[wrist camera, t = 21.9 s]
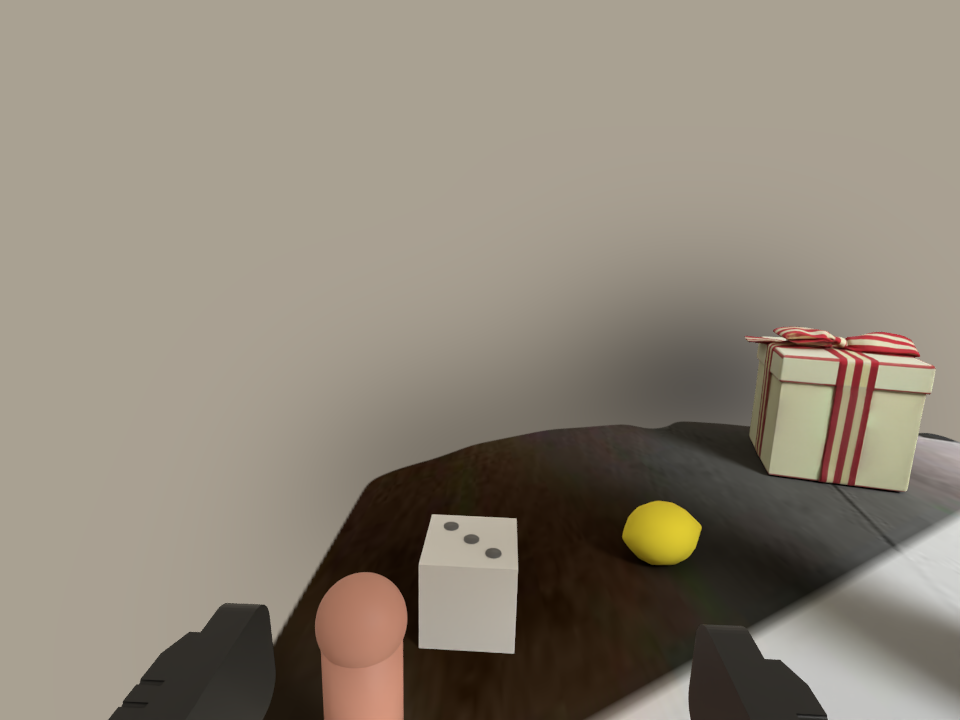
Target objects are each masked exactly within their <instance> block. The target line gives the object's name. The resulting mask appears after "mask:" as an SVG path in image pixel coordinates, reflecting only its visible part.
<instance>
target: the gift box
mask: <svg viewBox="0 0 960 720" xmlns="http://www.w3.org/2000/svg"><path fill="white" fill-rule="evenodd" d="M773 332H775V333H776V334H778V335H779V336H781V337H783V338H780V337H764V336H763V337H752V336H745V338H746V340H747V341H748V342H756V343H759V346H758V353H757V358H758V359H759V367H758V375H757V383H756V390H755V398H754V404H753V412H752V420H751V426H750V433H749V437H750V439H751V441H752V443H753V445H754V447H755V450H756V452H757V454H758V456H759V457H760V459H761V461H762V463H763V465H764V467H765V469H766V470H767V472H768V474H769V475H775V476H783V477H790V478H798V479H806V480H814V481H819V482H826V483H837V484H844V485H851V486H860V487H868V488H876V489H884V490H893V491H901V492H905V491H906V490H907V489H908V484H909V479H910V473H911V468H912V463H913V457H914V452H915V447H916V443H917V437H918V432H919V427H920V422H921V417H922V412H923V406H924V402H925V397H926V394H931V391H932V387H933V382H934V376H935V370H936V368H935V367H934V366H933V365H930V364H928V363H926V362H923V361H921V360H918V359H916V358H915V357H920V355H919V353H918V351H917V349H916V347H915V345H914V344H913V342H912V341H911V340H910V339H908V338H906V337H904V336H901V335H897V334H891V333H885V332H874V333H867V334H864V335H860V336H855V337H847V338H846V339H844V338H841V337H835V336H832V335H831V334H830V333H828V332H827V331H823V330H817V329H810V328H803V327H781V328H776V329H774V330H773Z"/></svg>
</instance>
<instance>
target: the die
mask: <svg viewBox="0 0 960 720" xmlns="http://www.w3.org/2000/svg"><path fill="white" fill-rule="evenodd" d="M517 583H518V549H517V518H497V517H476V516H455V515H434V514H432V517H431V520H430V524H429V528H428V532H427V535H426V539H425V543H424V547H423V550H422V554H421V558H420V562H419V648H428V649H445V650H462V651H479V652H495V653H512V654H514V649H515V627H516V605H517Z"/></svg>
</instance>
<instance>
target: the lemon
mask: <svg viewBox="0 0 960 720" xmlns="http://www.w3.org/2000/svg"><path fill="white" fill-rule="evenodd" d="M701 529H702V527H701V525H700V524H699V523H698V522H697V521H696V520H695V519H694V518H693V517H692V516H691V515H690V514H689V513H688V512H687V511H686V510H685V509H683V508H681V507H679V506H678V505H676V504H674V503H671V502H664V501H654V502H650V503H647V504H644V505H642V506H639V507H637V508H636V509H635V510H634V511H633V512H632V513H631V514H630V515H629V517H628V520H627V522H626V525H625V527H624V531H623V536H622V538H623V540H624V542H625V544H626V545H627V546H628V548H629V549H630V550H631V551H632V552H633V553H634V554H635V555H636V556H637V557H638V558H639V559H641V560H643V561H645V562H647V563H649V564H651V565H675V564H677V563H679V562H681V561H683V560H685V559H687V558H688V557H689V556H690V555H691V554H692V552H693V550H694V549H695V548H696V545H697V542H698V539H699V535H700V532H701Z"/></svg>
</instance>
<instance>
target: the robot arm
mask: <svg viewBox="0 0 960 720" xmlns="http://www.w3.org/2000/svg"><path fill="white" fill-rule="evenodd" d="M275 675H276V671H275V661H274V652H273V643H272V634H271V625H270V616H269V611H268V608H267V607H266V606H265V605H258V604H234V603H232V604H231V603H225V604H223V605H222V606H220V607H219V609H218V610H217V611H216V612H215V614H214V615H213V616H212V618H211V619H210V620H209V622H208V623H207V625H206V626H205V627H204V629H203V630H202V631H201V632H189V633H188V634H186V635H185V636H184V637H182V638H181V639H180V640H178V641H177V642H176V643H174V644H173V645H172V646H170V647H169V648H168V649H166V650H165V651H164V652H162V653H161V654H160V655H159V657H158V658H157V659H156V660H155V662H154V663H153V664H152V666H151V667H150V668H149V669H148V671H147V672H146V673H145V674H144V676H143V677H142V678H141V681H140V684H139V685H136V686H135V687H134V688H133V689H132V691H131V692H130V693H129V694H128V696H127V697H126V698H125V700H124V701H123V705H122V707H118V708H117V710H116V711H115V712H114V713H113V715H112V716H111V717H110V718H109V720H263V718H264V716H265V714H266V712H267V710H268V707H269V705H270V702H271V699H272V695H273V691H274V685H275ZM689 711H690V718H691V720H828V719H827V714H826V713H825V711H824V710H823V708H822V706H821V705H820V703H819V702H818V700H817V699H816V697H815V695H814V694H813V692H812V691H811V689H810V688H809V686H808V685H807V684H806V683H805V682H804V681H803V680H802V679H801V678H799V677H798V676H797V675H796V674H795V673H794V672H793V671H792V670H791V669H790V668H788V667H787V666H786V665H785V664H784V663H783V662H782V661H781V660H772V659H764V657H763V656H762V654H761V652H760V650H759V649H758V647H757V645H756V643H755V642H754V640H753V638H752V637H751V635H750V633H749V632H748V630H747V629H746V628H745V627H743V626H727V625H703V624H701V625H699V627H698V628H697V632H696V638H695V646H694V654H693V662H692V669H691V677H690V685H689Z"/></svg>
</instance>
